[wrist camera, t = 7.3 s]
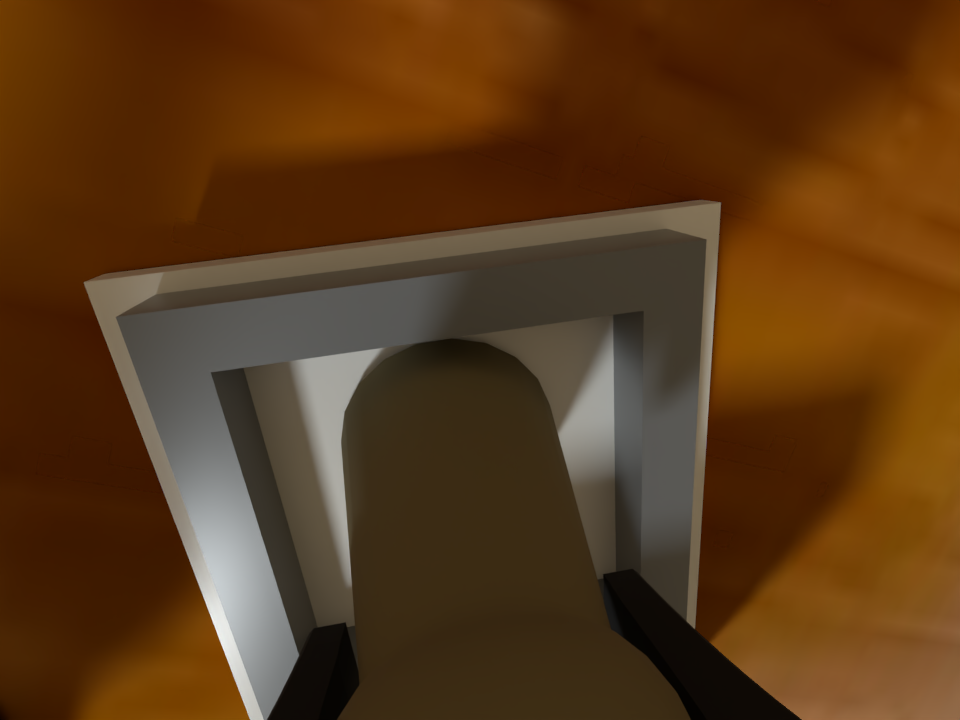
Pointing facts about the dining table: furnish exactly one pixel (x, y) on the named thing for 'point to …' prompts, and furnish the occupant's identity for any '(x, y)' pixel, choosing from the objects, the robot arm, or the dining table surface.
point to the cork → (476, 553)
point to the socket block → (387, 331)
